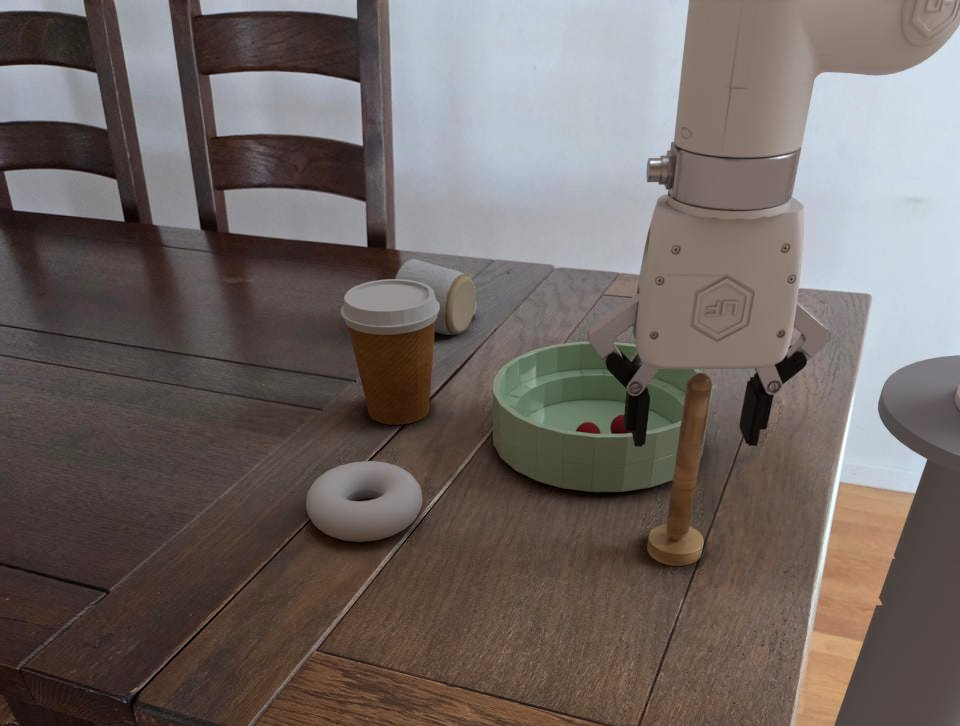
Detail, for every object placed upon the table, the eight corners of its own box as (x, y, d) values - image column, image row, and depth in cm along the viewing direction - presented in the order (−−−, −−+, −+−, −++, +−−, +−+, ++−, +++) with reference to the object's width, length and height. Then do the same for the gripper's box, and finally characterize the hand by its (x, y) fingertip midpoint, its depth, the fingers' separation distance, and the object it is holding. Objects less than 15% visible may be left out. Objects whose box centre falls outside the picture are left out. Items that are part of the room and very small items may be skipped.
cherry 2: (625, 445, 84) (603, 433, 84) (629, 443, 86) (608, 431, 87) (638, 422, 83) (616, 410, 83) (641, 421, 85) (620, 409, 86)
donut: (418, 551, 73) (428, 486, 81) (415, 516, 71) (426, 452, 78) (298, 550, 74) (319, 485, 81) (292, 516, 71) (314, 452, 79)
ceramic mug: (451, 346, 104) (449, 279, 100) (392, 334, 107) (387, 268, 103) (492, 316, 112) (492, 253, 107) (436, 306, 115) (433, 244, 110)
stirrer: (697, 535, 74) (726, 360, 64) (706, 566, 71) (738, 386, 61) (644, 535, 74) (665, 360, 64) (650, 566, 71) (674, 387, 61)
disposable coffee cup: (418, 440, 87) (409, 319, 80) (335, 422, 91) (319, 304, 83) (460, 400, 94) (456, 284, 86) (381, 385, 97) (371, 272, 89)
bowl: (685, 395, 94) (693, 340, 90) (720, 497, 78) (731, 436, 75) (494, 397, 94) (494, 342, 90) (492, 498, 79) (491, 437, 75)
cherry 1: (609, 438, 84) (599, 415, 83) (596, 448, 83) (585, 424, 82) (589, 445, 86) (579, 422, 85) (576, 454, 84) (566, 431, 84)
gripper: (594, 197, 52) (578, 463, 63) (895, 192, 51) (824, 462, 63) (585, 164, 58) (572, 415, 69) (856, 160, 57) (798, 413, 69)
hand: (692, 436), depth 66 cm, fingers open, 7 cm apart
